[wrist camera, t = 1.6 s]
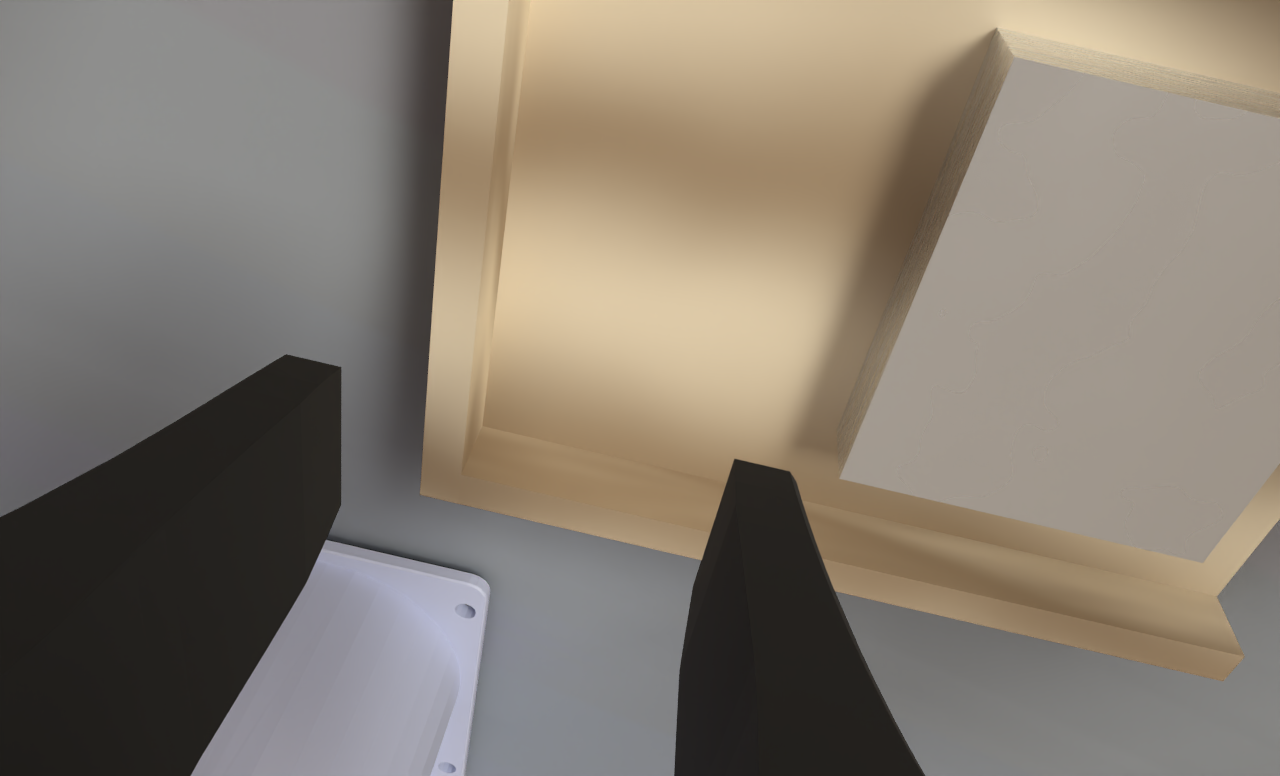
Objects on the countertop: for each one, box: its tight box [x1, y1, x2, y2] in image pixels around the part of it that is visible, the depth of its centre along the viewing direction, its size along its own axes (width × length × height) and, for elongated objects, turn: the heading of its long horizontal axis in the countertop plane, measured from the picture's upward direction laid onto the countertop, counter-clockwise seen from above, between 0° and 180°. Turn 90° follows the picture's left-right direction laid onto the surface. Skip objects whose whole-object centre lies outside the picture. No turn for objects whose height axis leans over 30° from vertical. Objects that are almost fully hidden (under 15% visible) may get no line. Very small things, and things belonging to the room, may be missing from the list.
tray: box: [420, 0, 1280, 681], centre depth 17 cm, size 14×17×2 cm
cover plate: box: [837, 28, 1280, 563], centre depth 16 cm, size 8×7×2 cm
